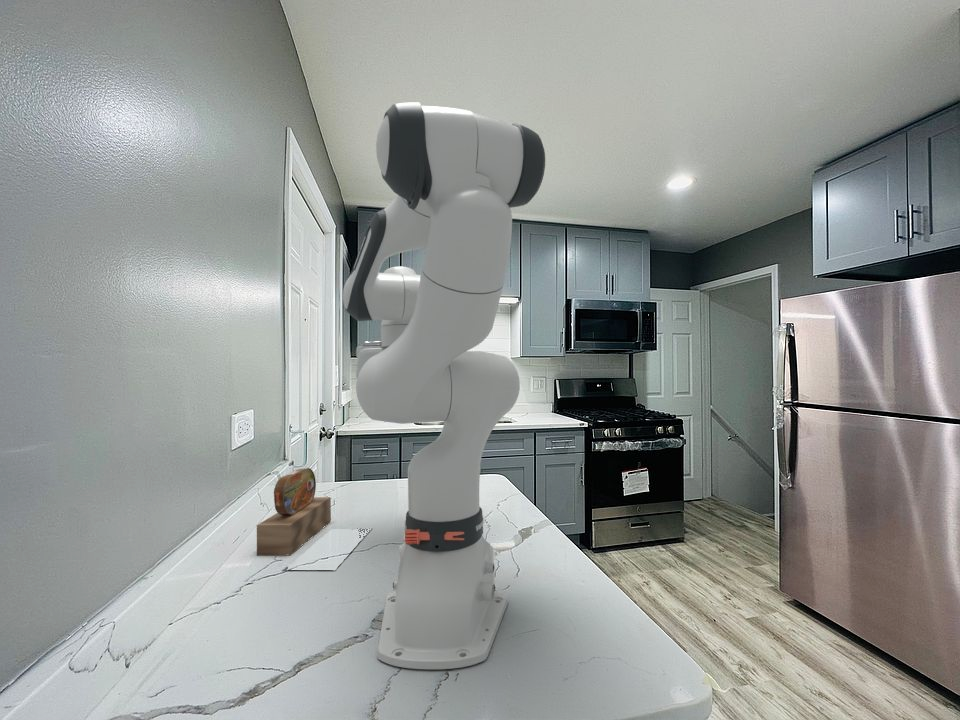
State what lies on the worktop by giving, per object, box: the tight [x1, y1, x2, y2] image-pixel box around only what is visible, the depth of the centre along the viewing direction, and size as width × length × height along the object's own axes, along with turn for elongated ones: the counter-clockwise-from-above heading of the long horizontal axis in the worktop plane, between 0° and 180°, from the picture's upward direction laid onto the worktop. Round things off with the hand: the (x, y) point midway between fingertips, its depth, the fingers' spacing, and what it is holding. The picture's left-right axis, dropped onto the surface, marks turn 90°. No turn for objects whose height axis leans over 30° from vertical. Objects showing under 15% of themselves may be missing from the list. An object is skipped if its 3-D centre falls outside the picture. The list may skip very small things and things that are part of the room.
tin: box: [273, 467, 317, 515], centre depth 98 cm, size 15×3×8 cm, turn 176°
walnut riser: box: [256, 496, 332, 556], centre depth 98 cm, size 20×7×6 cm, turn 176°
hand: (402, 400), depth 99 cm, fingers open, 8 cm apart
